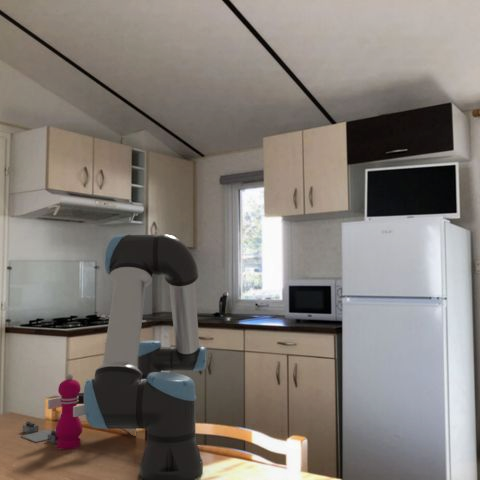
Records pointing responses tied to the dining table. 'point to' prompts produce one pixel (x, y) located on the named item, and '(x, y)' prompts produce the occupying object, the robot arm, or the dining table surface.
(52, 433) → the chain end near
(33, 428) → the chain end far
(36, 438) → the plate
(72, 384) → the pepper mill
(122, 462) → the dining table surface
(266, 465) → the dining table surface
